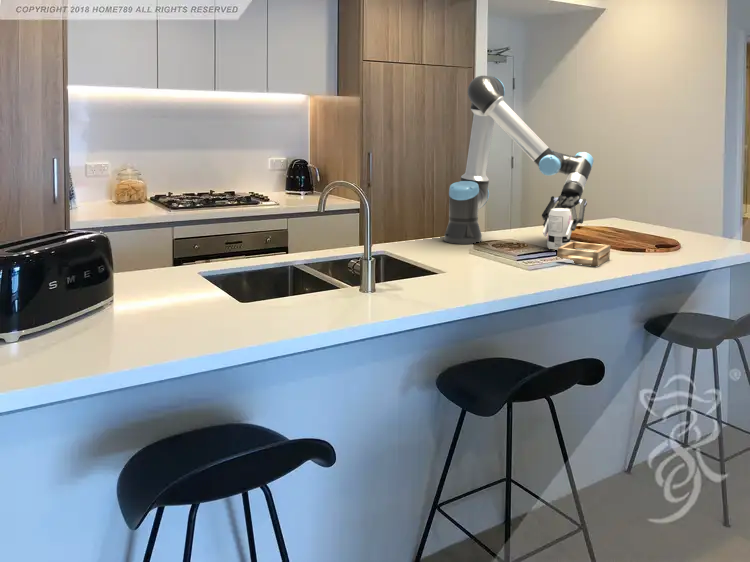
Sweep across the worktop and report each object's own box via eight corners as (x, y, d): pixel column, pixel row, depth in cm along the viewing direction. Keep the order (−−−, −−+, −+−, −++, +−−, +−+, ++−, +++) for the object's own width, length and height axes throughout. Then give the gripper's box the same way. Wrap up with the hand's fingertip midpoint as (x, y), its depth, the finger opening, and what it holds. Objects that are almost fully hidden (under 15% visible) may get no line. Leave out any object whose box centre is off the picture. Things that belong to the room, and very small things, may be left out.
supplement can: (544, 246, 267) (546, 208, 263) (565, 246, 267) (567, 207, 264) (551, 251, 259) (553, 211, 255) (572, 250, 260) (575, 211, 256)
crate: (556, 262, 243) (557, 248, 242) (570, 254, 254) (571, 241, 253) (596, 267, 236) (597, 252, 234) (609, 259, 247) (610, 245, 245)
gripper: (602, 195, 265) (585, 244, 256) (549, 191, 276) (531, 238, 268) (599, 183, 259) (581, 232, 250) (545, 179, 271) (526, 226, 262)
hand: (555, 235), depth 259 cm, fingers closed on supplement can, 8 cm apart
